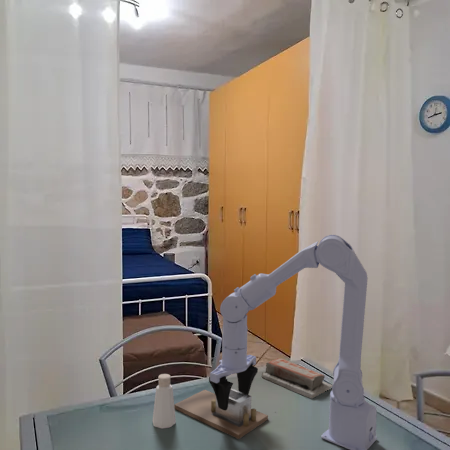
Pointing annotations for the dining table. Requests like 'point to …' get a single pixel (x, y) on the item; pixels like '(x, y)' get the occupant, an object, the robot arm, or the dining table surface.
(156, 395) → the salt shaker
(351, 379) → the robot arm
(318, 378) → the packaged product
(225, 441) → the dining table surface
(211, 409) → the walnut tray
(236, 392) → the block
